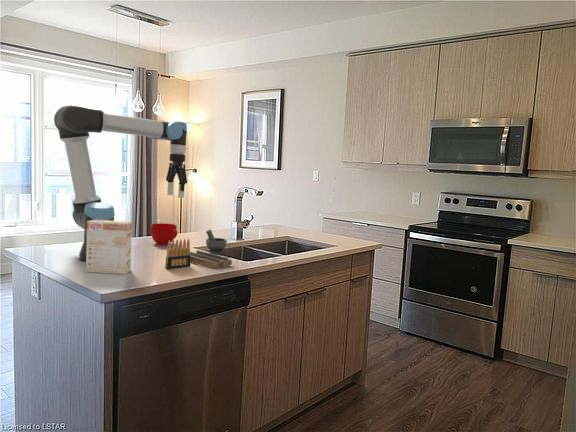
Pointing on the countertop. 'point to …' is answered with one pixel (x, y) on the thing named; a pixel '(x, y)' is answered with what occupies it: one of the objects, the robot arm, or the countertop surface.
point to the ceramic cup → (163, 233)
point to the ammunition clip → (178, 255)
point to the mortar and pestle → (215, 243)
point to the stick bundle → (209, 259)
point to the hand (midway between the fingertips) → (175, 196)
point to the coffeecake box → (108, 246)
